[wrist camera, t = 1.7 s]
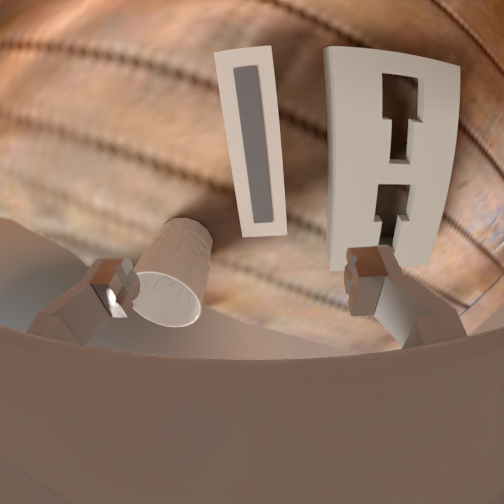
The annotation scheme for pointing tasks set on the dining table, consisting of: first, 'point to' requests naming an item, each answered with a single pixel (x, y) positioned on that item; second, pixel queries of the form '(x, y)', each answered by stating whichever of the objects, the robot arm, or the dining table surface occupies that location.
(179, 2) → the dining table surface
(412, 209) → the mounting board
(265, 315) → the dining table surface
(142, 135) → the dining table surface
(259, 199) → the cream rectangular block
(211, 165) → the dining table surface
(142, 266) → the white cup
